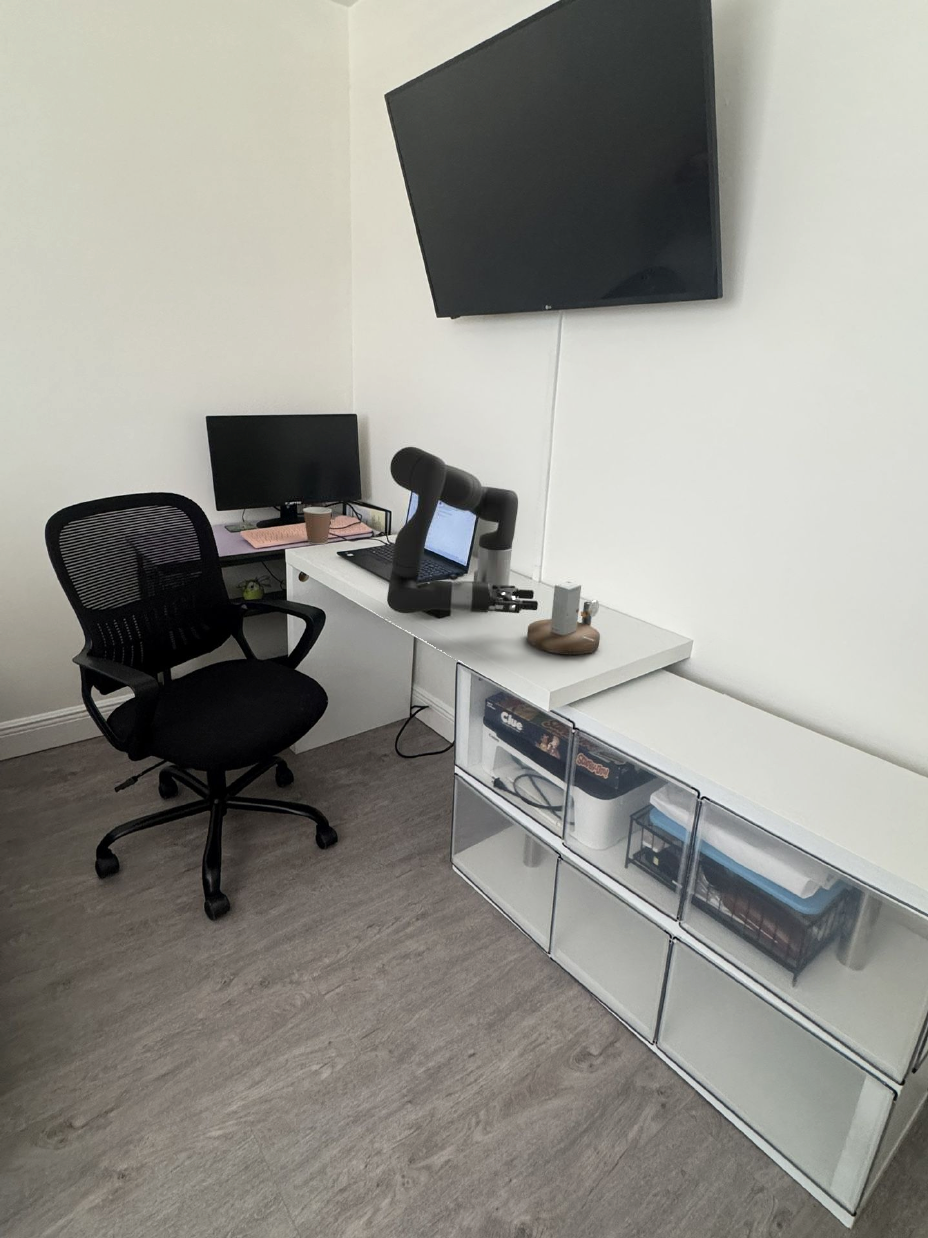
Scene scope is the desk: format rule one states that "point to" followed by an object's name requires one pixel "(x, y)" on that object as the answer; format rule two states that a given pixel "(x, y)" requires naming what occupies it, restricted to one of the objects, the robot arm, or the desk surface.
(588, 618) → the post with glass disc
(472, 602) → the robot arm
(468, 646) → the desk surface
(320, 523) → the coffee cup
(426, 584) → the digital camera
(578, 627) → the turntable
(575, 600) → the skincare box
